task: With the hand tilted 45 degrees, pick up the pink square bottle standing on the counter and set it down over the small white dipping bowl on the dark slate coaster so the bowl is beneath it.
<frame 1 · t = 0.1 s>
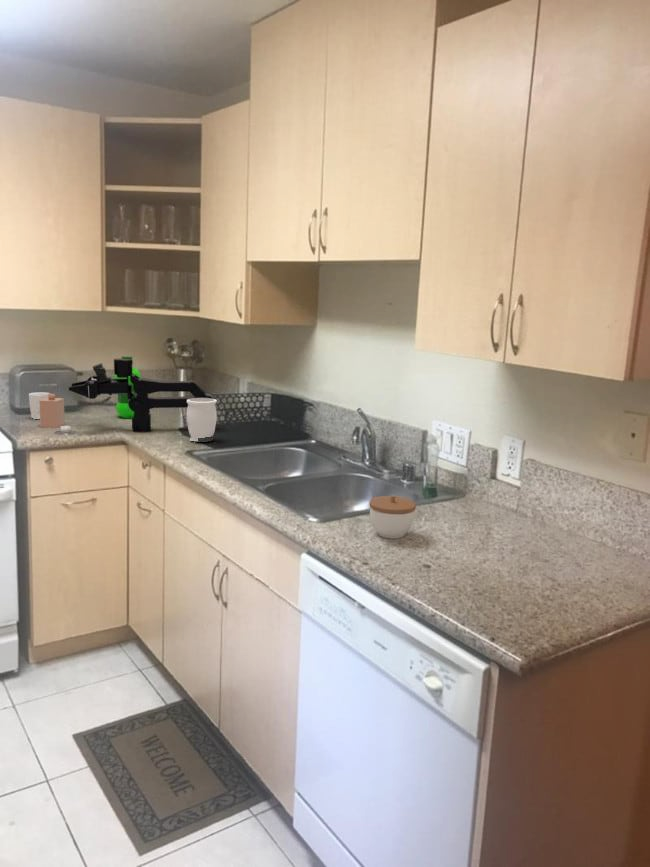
hand: (70, 386, 257), 17 cm above the worktop, tool horizontal, fingers open, 9 cm apart
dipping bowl: (65, 432, 255), resting on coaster
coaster: (65, 434, 255), on the worktop
lidded jar: (390, 534, 164), on the worktop
plastic bottle: (128, 417, 291), on the worktop
jar: (201, 441, 253), on the worktop
white cup: (40, 418, 282), on the worktop
pink square bottle: (53, 427, 266), on the worktop
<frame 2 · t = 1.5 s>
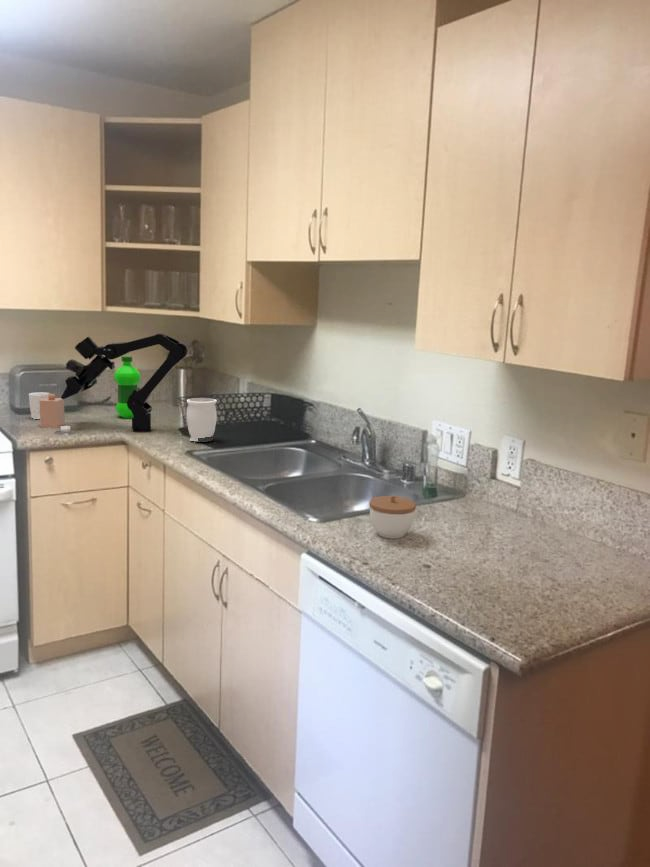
hand: (66, 396, 264), 12 cm above the worktop, tool tilted 45°, fingers open, 9 cm apart
nothing on the worktop moved.
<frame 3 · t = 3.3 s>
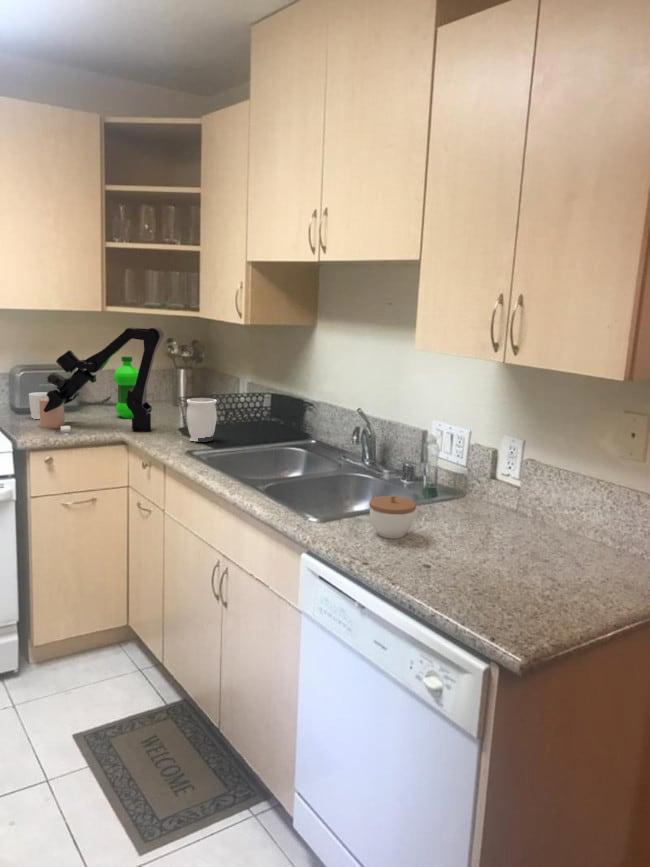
hand: (48, 409, 265), 7 cm above the worktop, tool tilted 45°, fingers closed on pink square bottle, 7 cm apart
pink square bottle: (52, 427, 266), on the worktop, touching gripper
everything else where it was.
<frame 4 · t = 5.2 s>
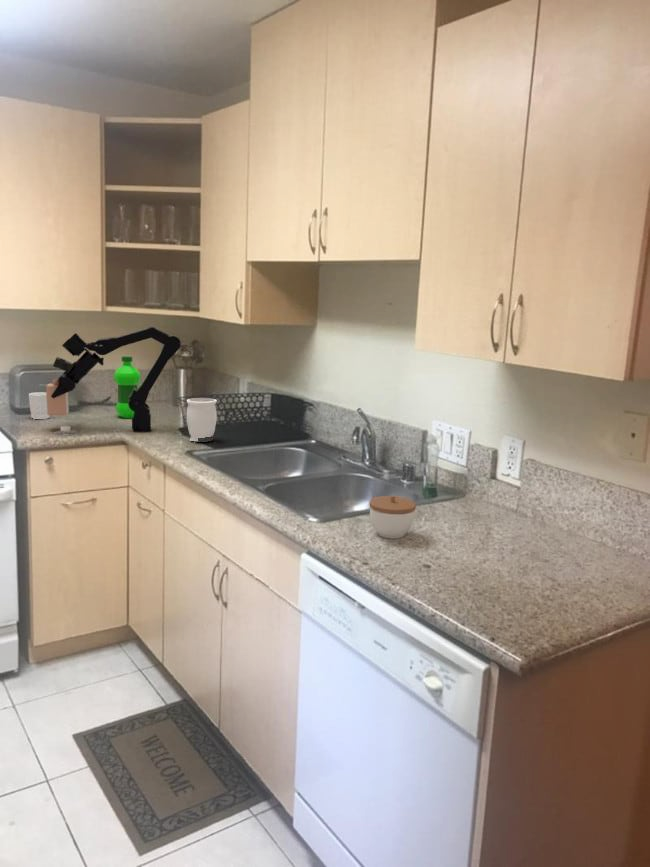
hand: (53, 395, 256), 13 cm above the worktop, tool tilted 45°, fingers closed on pink square bottle, 7 cm apart
pink square bottle: (58, 413, 258), point 7 cm above the worktop, touching gripper
everything else where it was.
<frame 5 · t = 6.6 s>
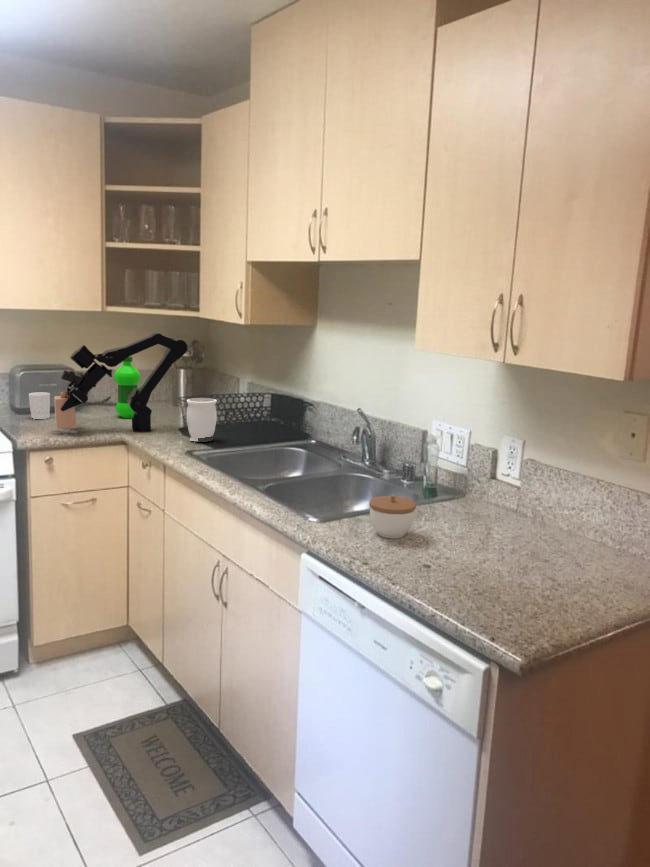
hand: (60, 408, 253), 9 cm above the worktop, tool tilted 45°, fingers closed on pink square bottle, 7 cm apart
pink square bottle: (65, 426, 255), point 3 cm above the worktop, touching gripper
everything else where it was.
when the fingers open (8 cm above the worktop, at t = 7.6 s): pink square bottle stays where it is, resting on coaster.
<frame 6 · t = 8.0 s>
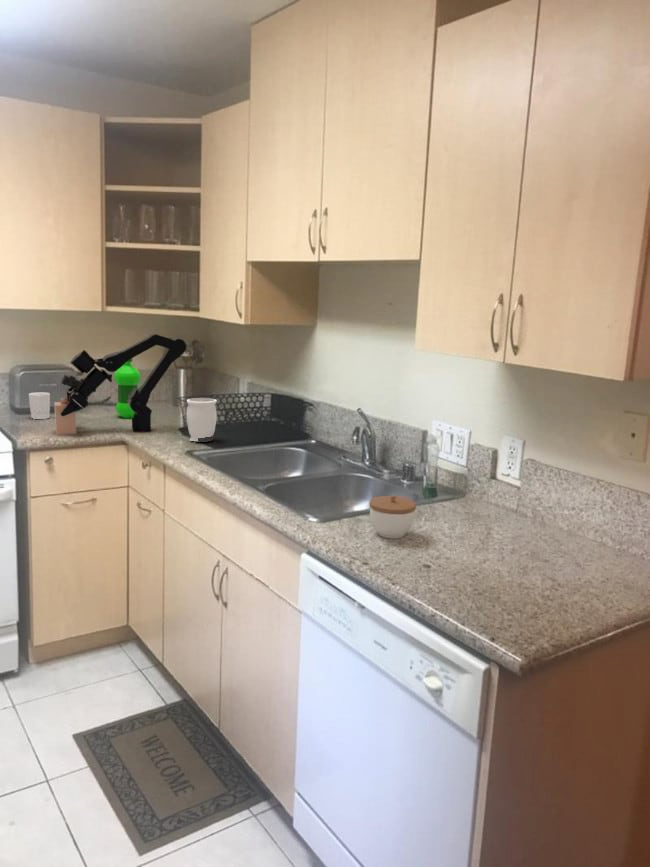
hand: (60, 413, 253), 8 cm above the worktop, tool tilted 45°, fingers open, 9 cm apart
pink square bottle: (65, 432, 255), point 1 cm above the worktop, touching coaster
everything else where it was.
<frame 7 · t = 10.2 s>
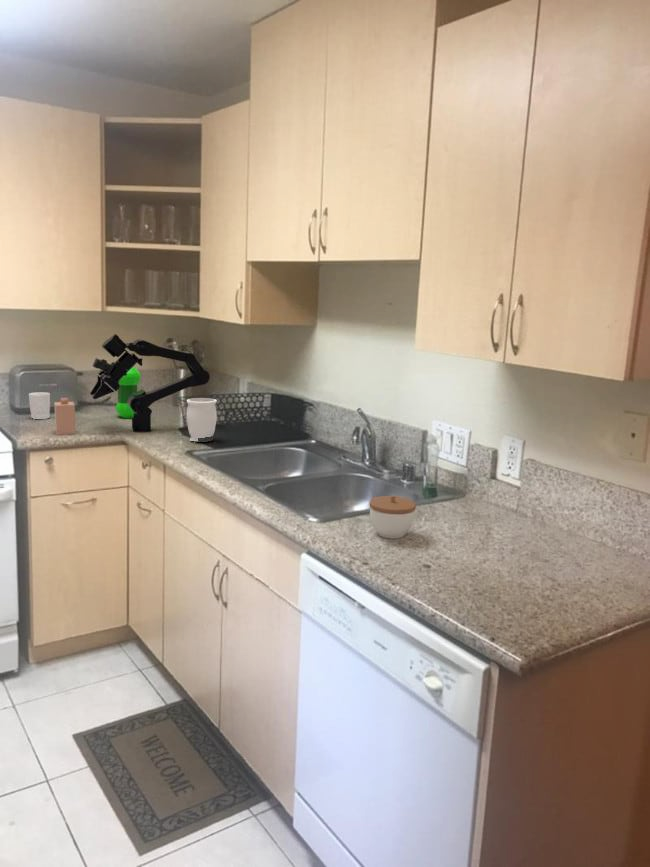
hand: (92, 396, 256), 14 cm above the worktop, tool tilted 45°, fingers open, 9 cm apart
nothing on the worktop moved.
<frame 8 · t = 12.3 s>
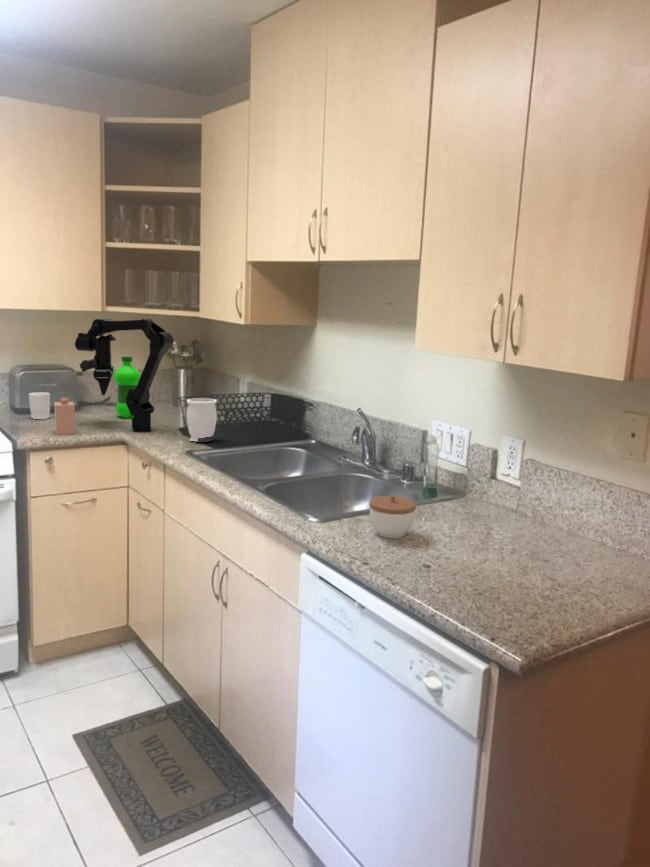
hand: (104, 393, 268), 13 cm above the worktop, tool pointing down, fingers open, 9 cm apart
nothing on the worktop moved.
at the end: pink square bottle 0.0 cm off-centre on the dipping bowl, point 0.0 cm above the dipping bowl's base; pink square bottle tilted 0°; the gripper is holding nothing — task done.
